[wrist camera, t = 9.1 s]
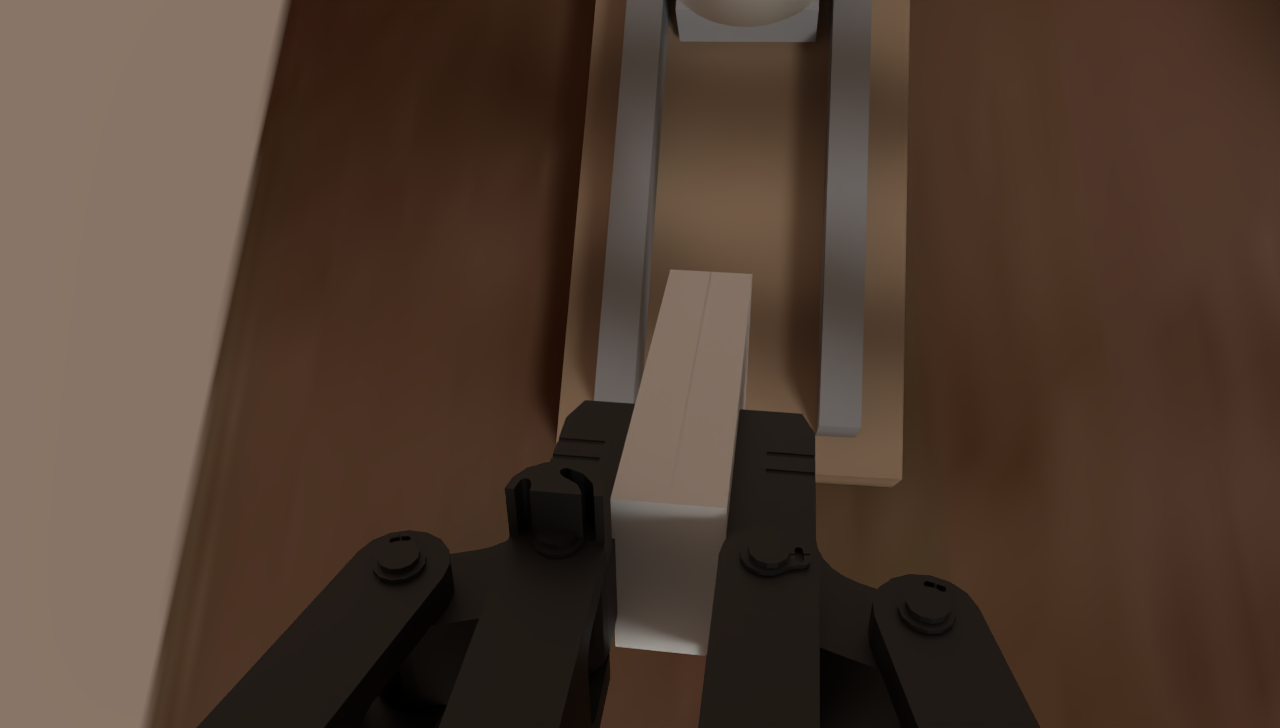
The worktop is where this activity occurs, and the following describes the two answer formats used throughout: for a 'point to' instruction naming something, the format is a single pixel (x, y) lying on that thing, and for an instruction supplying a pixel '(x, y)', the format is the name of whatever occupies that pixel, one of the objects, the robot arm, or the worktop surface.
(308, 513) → the worktop surface
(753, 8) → the knob
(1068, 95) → the worktop surface
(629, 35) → the knob mount
